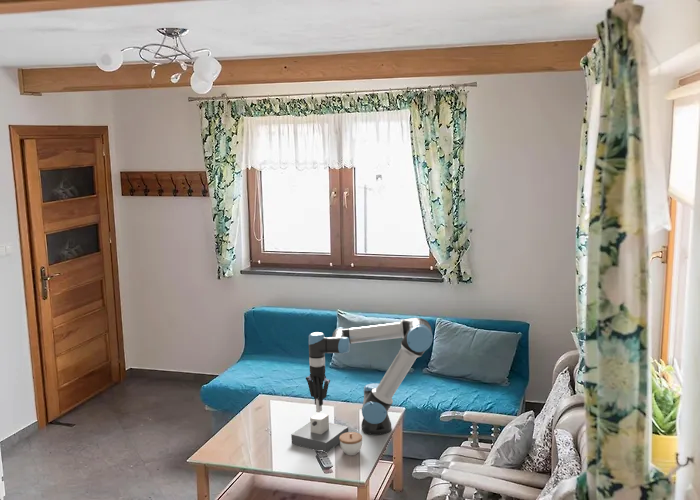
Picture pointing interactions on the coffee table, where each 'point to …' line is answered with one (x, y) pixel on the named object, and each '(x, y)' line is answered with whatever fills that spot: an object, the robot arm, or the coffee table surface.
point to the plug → (319, 423)
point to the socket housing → (318, 437)
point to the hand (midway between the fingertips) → (319, 411)
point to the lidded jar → (350, 442)
